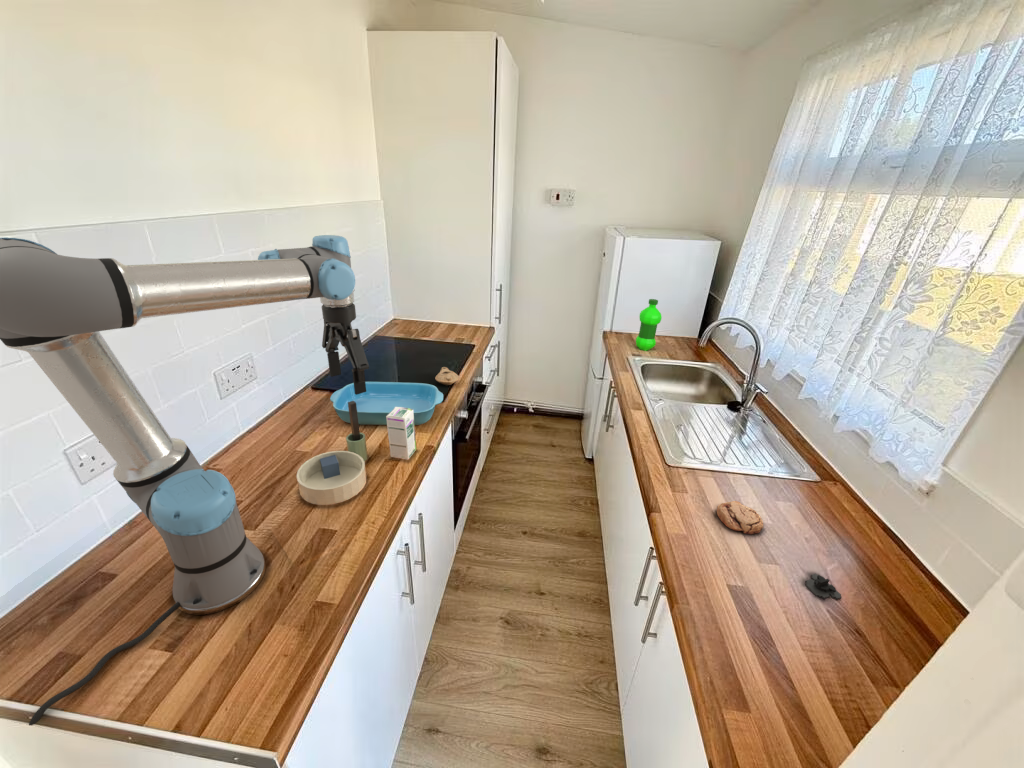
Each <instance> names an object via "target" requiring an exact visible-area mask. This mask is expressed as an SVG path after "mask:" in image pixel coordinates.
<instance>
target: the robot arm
mask: <svg viewBox="0 0 1024 768" xmlns="http://www.w3.org/2000/svg"><path fill="white" fill-rule="evenodd" d="M351 258H352V257H351V252H350V246H349V242H348V240H347V238H346V237H344V236H343V235H342V236H341V235H335V234H333V235H332V234H321V235H315V236H313V237H312V243H311V246H306V247H296V248H295V247H294V248H280V249H278V248H275V249H271V250H264V251H261V252H260V253H259V255H258V257H257V259H247V260H245V259H244V260H224V261H200V262H197V261H196V262H175V263H174V262H173V263H172V262H171V263H170V262H169V263H150V264H147V263H146V264H145V263H144V264H127V265H126V264H124V263H122V262H120V261H118V260H117V259H115V258H113V257H104V258H103V257H101V258H88V257H76V256H68V255H61V254H58V253H57V252H55V251H54V250H53V249H51V248H49V247H47V246H45V245H43V244H42V243H38V242H35V241H33V240H29V239H25V238H18V237H3V236H2V237H0V341H1V342H2V344H4V346H5V347H7V348H9V349H13V350H18V351H23V352H26V353H28V354H29V355H30V356H31V358H32V359H33V361H35V363H36V364H37V365H38V367H39V369H41V371H43V373H44V374H45V376H47V378H48V379H49V381H50V382H51V383H52V385H54V387H55V388H56V389H57V390H58V392H59V393H60V394H61V395H62V396H63V398H64V399H65V400H66V401H67V403H68V404H69V405H70V407H72V409H73V410H74V412H75V413H76V414H77V415H78V417H79V418H80V419H81V421H82V422H83V423H84V424H85V425H86V427H87V428H88V429H89V430H90V431H91V433H92V434H93V436H95V438H96V439H97V440H98V441H99V443H100V444H101V445H102V447H103V448H104V449H105V450H106V452H108V454H109V455H110V456H111V458H112V459H113V460H114V461H115V463H116V465H115V466H114V468H113V471H112V472H113V473H112V475H113V477H114V479H115V480H116V481H117V482H118V484H119V485H120V486H121V487H122V488H123V490H124V491H125V493H126V495H127V497H128V498H129V499H130V500H131V501H132V502H133V503H134V504H136V505H137V507H138V508H139V509H140V511H142V513H143V514H144V516H145V517H146V518H147V519H148V521H149V522H150V523H151V525H152V526H153V527H154V528H155V530H156V531H157V532H158V533H159V536H161V539H162V541H163V542H164V544H165V546H166V549H167V552H168V553H169V556H170V558H171V561H172V564H173V566H174V572H173V580H172V598H173V600H174V602H175V603H174V604H173V605H172V606H171V607H170V608H168V609H167V610H166V611H165V612H164V613H163V614H161V616H159V617H158V618H157V619H156V620H155V621H154V622H153V623H152V624H151V625H150V626H149V627H148V628H147V629H146V630H144V631H143V633H141V634H139V635H138V636H137V637H135V638H134V639H132V640H130V641H127V642H125V643H122V644H120V645H117V646H116V647H113V649H111V650H110V651H108V652H107V653H106V654H105V655H103V656H102V657H101V658H100V659H99V661H98V662H97V663H96V664H95V665H94V667H93V668H92V669H91V671H90V672H89V673H88V674H86V675H85V676H84V677H83V678H82V679H80V680H79V681H77V682H76V683H74V684H72V685H71V686H69V687H67V688H65V689H64V690H62V691H60V692H58V693H57V694H55V695H54V696H52V697H51V698H49V699H48V700H46V701H45V702H44V703H43V704H42V705H41V706H40V707H39V708H38V709H37V710H36V711H35V713H34V714H33V716H32V717H31V718H30V721H29V723H28V726H33V725H35V724H37V722H38V721H39V720H40V719H41V717H43V715H44V713H45V712H46V711H47V710H48V709H49V708H50V707H52V706H53V705H54V704H56V703H58V702H59V701H60V700H62V699H64V698H65V697H67V696H70V695H71V694H72V693H74V692H76V691H77V690H79V689H81V688H82V687H84V686H85V685H87V683H90V681H91V680H92V679H94V678H95V677H96V676H97V675H98V673H99V672H100V671H101V670H102V668H103V667H104V666H105V665H106V663H107V662H108V661H109V660H110V659H112V657H114V656H115V655H118V653H120V652H122V651H123V652H124V651H125V650H128V649H129V648H132V647H134V646H136V645H137V644H139V643H141V642H142V641H144V640H145V639H147V638H148V637H149V636H150V635H151V634H152V633H153V632H154V631H155V630H156V629H157V628H158V627H159V626H160V625H161V624H162V623H163V622H164V621H166V620H167V619H168V618H169V617H170V616H171V615H173V613H174V612H175V611H177V610H178V609H179V610H180V611H181V612H183V613H185V614H187V615H194V616H203V615H205V616H206V615H209V614H214V613H218V612H221V611H224V610H226V609H229V608H231V607H232V606H234V605H236V604H238V603H240V602H241V601H243V600H244V599H245V598H247V597H248V596H250V595H251V594H252V593H253V592H254V591H255V590H256V589H257V587H258V586H259V585H260V584H261V582H262V580H263V578H264V576H265V574H266V567H267V565H266V561H265V557H264V555H263V552H262V551H261V550H260V548H258V547H257V546H256V545H255V544H254V543H253V542H252V541H251V539H249V537H248V536H247V534H246V531H245V527H244V524H243V521H242V517H241V513H240V510H239V506H238V503H237V498H236V492H235V488H234V487H233V485H232V484H231V482H230V480H229V479H228V478H227V477H226V476H225V475H224V474H223V473H221V472H219V471H217V470H213V469H206V470H205V469H204V468H203V466H202V465H201V464H200V462H198V459H197V458H196V457H195V454H193V452H192V451H191V449H190V448H189V446H188V445H187V443H186V441H185V440H182V439H181V438H177V437H171V436H170V435H169V434H168V431H167V430H166V429H165V427H164V426H163V424H162V423H161V421H160V420H159V418H158V417H157V415H156V414H155V413H154V411H153V410H152V408H151V407H150V404H149V403H148V402H147V400H146V399H145V397H144V396H143V395H142V393H141V391H140V390H139V389H138V387H137V386H136V384H135V383H134V381H133V379H132V378H131V377H130V375H129V374H128V372H127V370H125V368H124V366H123V364H122V363H121V362H120V360H119V359H118V357H117V356H116V354H115V353H114V351H113V350H112V349H111V347H110V345H109V344H108V343H107V341H106V340H105V338H104V336H103V335H102V333H101V332H103V331H104V332H105V331H111V330H119V329H126V328H133V327H134V328H135V326H137V324H138V323H139V322H140V321H141V320H142V319H147V318H158V317H165V316H173V315H182V314H189V313H190V314H191V313H199V312H208V311H217V310H224V309H232V308H240V307H248V306H250V307H251V306H259V305H264V304H265V305H266V304H273V303H274V304H275V303H283V302H290V301H291V302H292V301H300V300H306V299H307V300H308V299H309V300H310V299H318V298H319V300H320V301H319V302H320V303H321V304H322V305H321V313H322V319H323V334H322V340H321V341H322V342H321V347H322V348H323V349H325V352H326V355H327V363H328V369H329V376H330V377H331V378H334V377H336V376H341V375H342V369H341V360H340V354H339V351H340V349H339V345H340V346H341V347H344V349H345V352H346V354H347V356H348V359H349V361H350V363H351V366H352V369H351V373H352V383H354V391H355V394H356V395H357V394H360V393H364V392H366V383H365V382H366V375H365V370H368V369H370V365H369V362H368V359H367V356H366V353H365V350H364V345H363V343H362V340H361V336H360V335H361V334H360V330H359V328H353V326H352V322H353V321H355V320H356V318H357V312H356V311H357V310H356V304H355V303H354V302H355V295H354V292H355V287H356V276H355V272H354V270H353V269H352V262H351Z"/></svg>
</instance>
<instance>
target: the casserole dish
mask: <svg viewBox="0 0 1024 768" xmlns="http://www.w3.org/2000/svg"><path fill="white" fill-rule="evenodd" d="M365 383H366V392H364V393H360V394H357V395H356V394H355V391H354V382H352V383H348V384H346V385H345V386H343V387H342V388H340V389H337V390H336V391H334V392H332V394H331V395H330V398H329V400H330V402H331V403H332V406H333V409H334V411H335V412H336V414H337V416H338V417H339V418H340V420H341V421H343V422H345V423H347V424H351V423H350V415H349V408H348V402H351V401H354V402H356V407H357V415H358V423H359V425H366V426H367V425H371V426H387V419H386V416H387V415H388V414H389V413H390V412H391V411H392V410H393V409H394V408H395V407H404V408H410V409H413V413H414V425H415V426H421V425H424V424H426V423H428V422H429V421H430V420H431V418H432V417H433V415H434V412H435V409H436V406H437V405H441V403H443V401H444V394H443V392H441V391H440V390H439V388H438V387H437V386H435V385H433V384H429V383H422V382H397V381H396V382H395V381H365Z"/></svg>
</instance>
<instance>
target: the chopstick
mask: <svg viewBox="0 0 1024 768" xmlns="http://www.w3.org/2000/svg"><path fill="white" fill-rule="evenodd" d="M348 408H349V415H350V423H349V424H350V430H351V433H352V438H353V441H358V440H361V439H360V432H361V431H360V424H359V423H358V415H357V407H356V402H354V401H351V402H348Z"/></svg>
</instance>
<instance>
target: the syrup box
mask: <svg viewBox="0 0 1024 768" xmlns="http://www.w3.org/2000/svg"><path fill="white" fill-rule="evenodd" d="M386 419H387V425H386V428H387V436H388V446H389V455H390V458H396V459H400V460H401V459H403V460H407V461H408V460H410V459H411V458H412V456H413V455H414V453H415V452H416V450H417V438H416V425H414V413H413V409H410V408H404V407H395V408H394V409H393V410H392V411H391V412H390V413H389V414H388V415H387V416H386Z"/></svg>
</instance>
